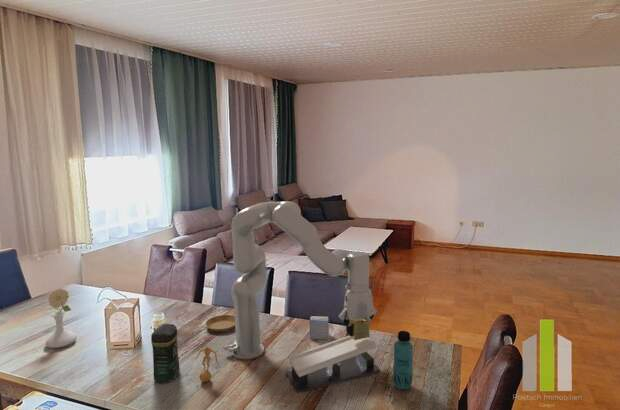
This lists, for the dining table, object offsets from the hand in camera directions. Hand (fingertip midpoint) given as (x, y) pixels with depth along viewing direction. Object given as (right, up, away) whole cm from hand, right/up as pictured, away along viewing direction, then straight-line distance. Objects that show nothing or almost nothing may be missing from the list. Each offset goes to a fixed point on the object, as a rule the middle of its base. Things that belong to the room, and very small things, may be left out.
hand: (357, 332), depth 147 cm
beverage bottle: (+14, -16, -11) cm, 23 cm away
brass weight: (0, -1, 0) cm, 1 cm away
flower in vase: (-122, -12, +22) cm, 125 cm away
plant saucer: (-58, -9, +37) cm, 69 cm away
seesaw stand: (-9, -14, -2) cm, 17 cm away
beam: (-9, -7, -3) cm, 12 cm away
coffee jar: (-69, -15, -2) cm, 71 cm away
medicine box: (-14, -10, +25) cm, 31 cm away
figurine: (-54, -15, -4) cm, 57 cm away
